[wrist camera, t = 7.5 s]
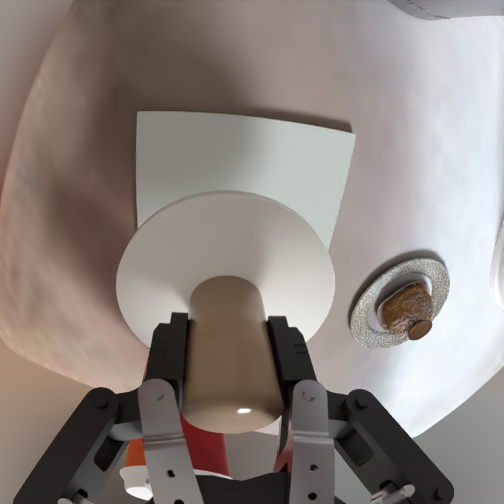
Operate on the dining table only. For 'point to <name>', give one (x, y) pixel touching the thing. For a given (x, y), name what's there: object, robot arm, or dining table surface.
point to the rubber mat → (242, 162)
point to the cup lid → (226, 297)
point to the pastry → (402, 305)
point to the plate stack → (498, 270)
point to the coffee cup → (200, 450)
